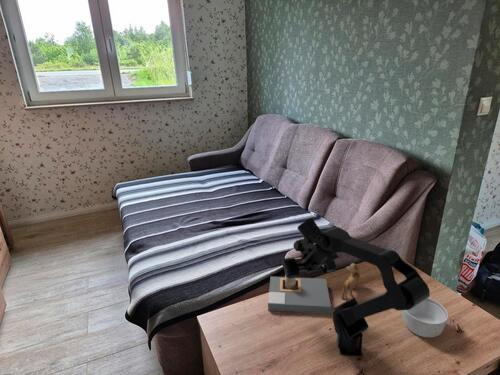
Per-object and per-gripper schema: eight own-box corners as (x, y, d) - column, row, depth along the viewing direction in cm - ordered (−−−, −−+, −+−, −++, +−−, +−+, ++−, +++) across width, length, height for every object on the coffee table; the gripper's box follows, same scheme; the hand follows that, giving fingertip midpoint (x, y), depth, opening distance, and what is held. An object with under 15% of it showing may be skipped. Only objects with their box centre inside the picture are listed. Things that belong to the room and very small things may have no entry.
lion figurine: (345, 279, 126) (347, 260, 123) (359, 282, 124) (361, 263, 121) (339, 301, 113) (341, 281, 110) (354, 305, 111) (356, 284, 108)
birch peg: (296, 289, 121) (297, 268, 117) (293, 296, 117) (294, 273, 114) (287, 287, 122) (287, 265, 119) (283, 293, 119) (283, 271, 115)
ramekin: (449, 346, 93) (453, 328, 91) (401, 335, 98) (403, 318, 95) (440, 316, 105) (443, 299, 102) (397, 307, 109) (400, 291, 107)
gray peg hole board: (325, 285, 123) (325, 278, 122) (330, 313, 108) (330, 306, 107) (270, 282, 125) (270, 275, 124) (268, 310, 110) (267, 302, 109)
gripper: (332, 230, 106) (314, 253, 117) (284, 235, 99) (270, 258, 111) (346, 260, 99) (326, 280, 111) (296, 266, 93) (279, 287, 104)
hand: (300, 275), depth 109 cm, fingers open, 9 cm apart
